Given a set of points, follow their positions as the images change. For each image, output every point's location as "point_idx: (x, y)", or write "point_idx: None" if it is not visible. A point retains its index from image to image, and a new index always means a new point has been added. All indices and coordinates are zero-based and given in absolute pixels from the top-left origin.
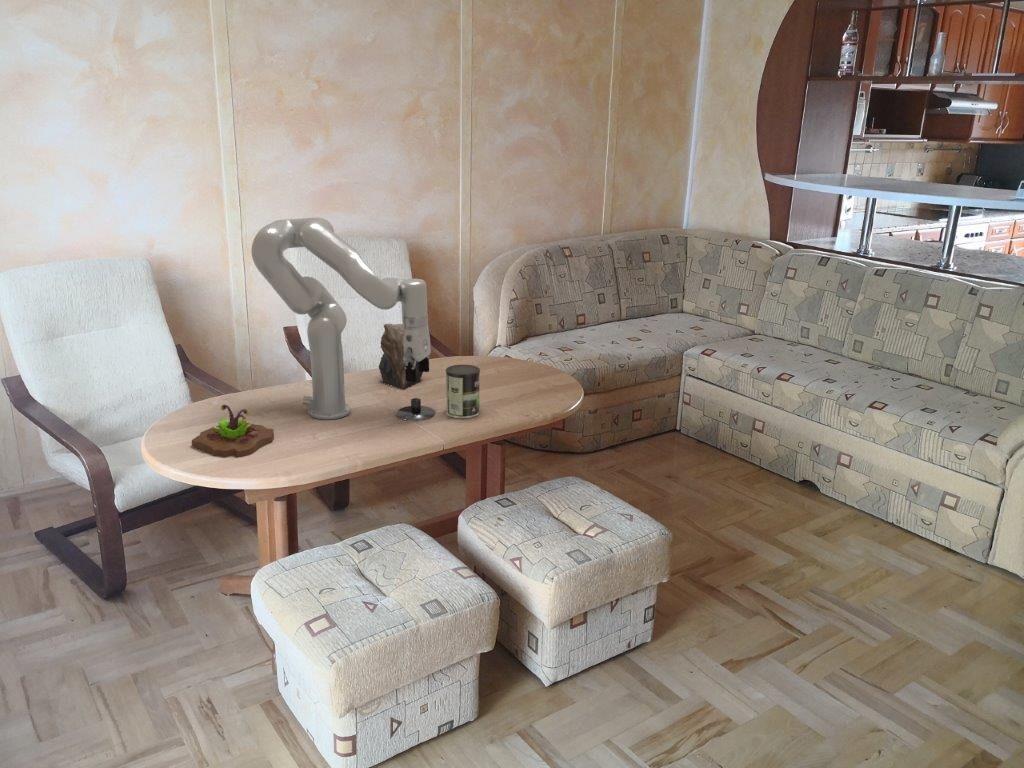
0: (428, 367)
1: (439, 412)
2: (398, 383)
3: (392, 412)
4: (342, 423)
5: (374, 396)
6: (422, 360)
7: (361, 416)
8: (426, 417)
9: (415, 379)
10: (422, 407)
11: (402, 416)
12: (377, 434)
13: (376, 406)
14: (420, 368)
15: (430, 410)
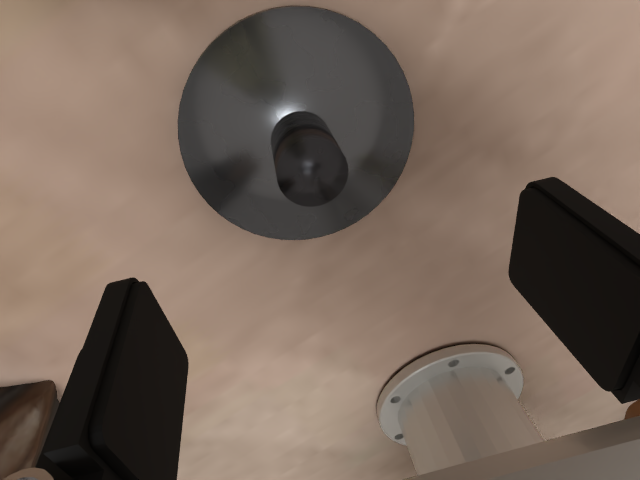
0: (118, 319)
1: (181, 16)
2: (49, 427)
3: (341, 246)
4: (530, 310)
5: (217, 402)
6: (145, 474)
7: (440, 307)
8: (349, 22)
9: (567, 193)
10: (209, 157)
11: (396, 163)
12: (629, 129)
13: (311, 335)
14: (179, 376)
15: (222, 79)
